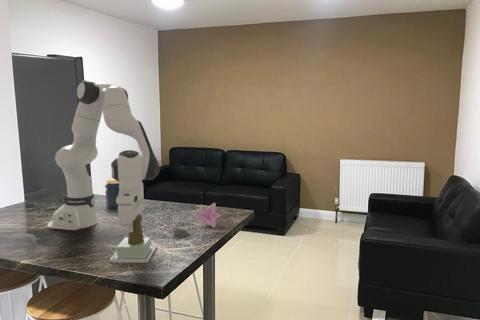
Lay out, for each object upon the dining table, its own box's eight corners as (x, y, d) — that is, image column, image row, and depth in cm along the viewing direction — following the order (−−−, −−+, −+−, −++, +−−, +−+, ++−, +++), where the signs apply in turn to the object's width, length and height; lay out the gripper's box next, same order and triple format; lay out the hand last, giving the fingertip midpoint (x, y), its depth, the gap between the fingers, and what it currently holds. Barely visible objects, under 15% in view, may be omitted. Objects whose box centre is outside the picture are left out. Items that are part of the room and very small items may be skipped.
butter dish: (110, 262, 145) (109, 249, 144) (122, 247, 158) (121, 235, 158) (147, 262, 144) (147, 249, 143) (156, 247, 158) (156, 235, 157)
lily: (190, 226, 187) (190, 212, 181) (203, 211, 195) (204, 197, 189) (211, 237, 183) (212, 223, 177) (224, 221, 192) (225, 207, 186)
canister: (126, 209, 212) (124, 177, 209) (102, 209, 212) (100, 177, 209) (133, 202, 224) (131, 172, 222) (110, 202, 225) (109, 172, 222)
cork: (129, 239, 153) (127, 212, 151) (144, 238, 154) (143, 211, 152) (126, 245, 147) (125, 217, 146) (143, 244, 148) (141, 216, 146)
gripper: (131, 187, 157) (133, 220, 160) (114, 201, 137) (116, 238, 140) (147, 187, 157) (148, 220, 160) (131, 200, 137) (134, 238, 139)
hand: (133, 228), depth 149 cm, fingers open, 5 cm apart
